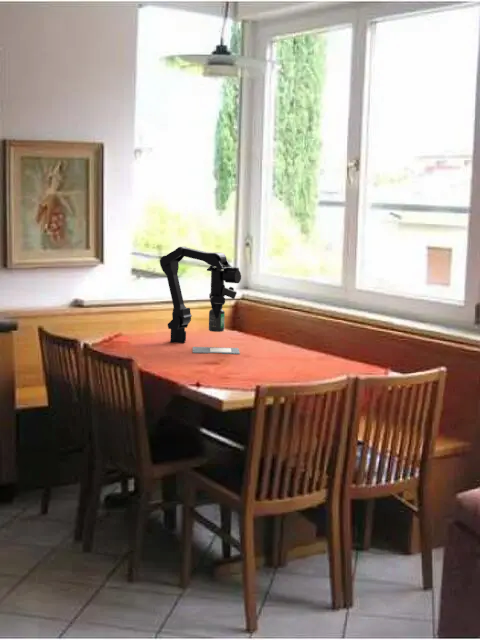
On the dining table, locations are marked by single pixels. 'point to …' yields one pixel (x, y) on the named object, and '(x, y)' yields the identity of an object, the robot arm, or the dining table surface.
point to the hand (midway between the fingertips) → (216, 317)
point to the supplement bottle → (216, 321)
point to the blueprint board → (216, 350)
